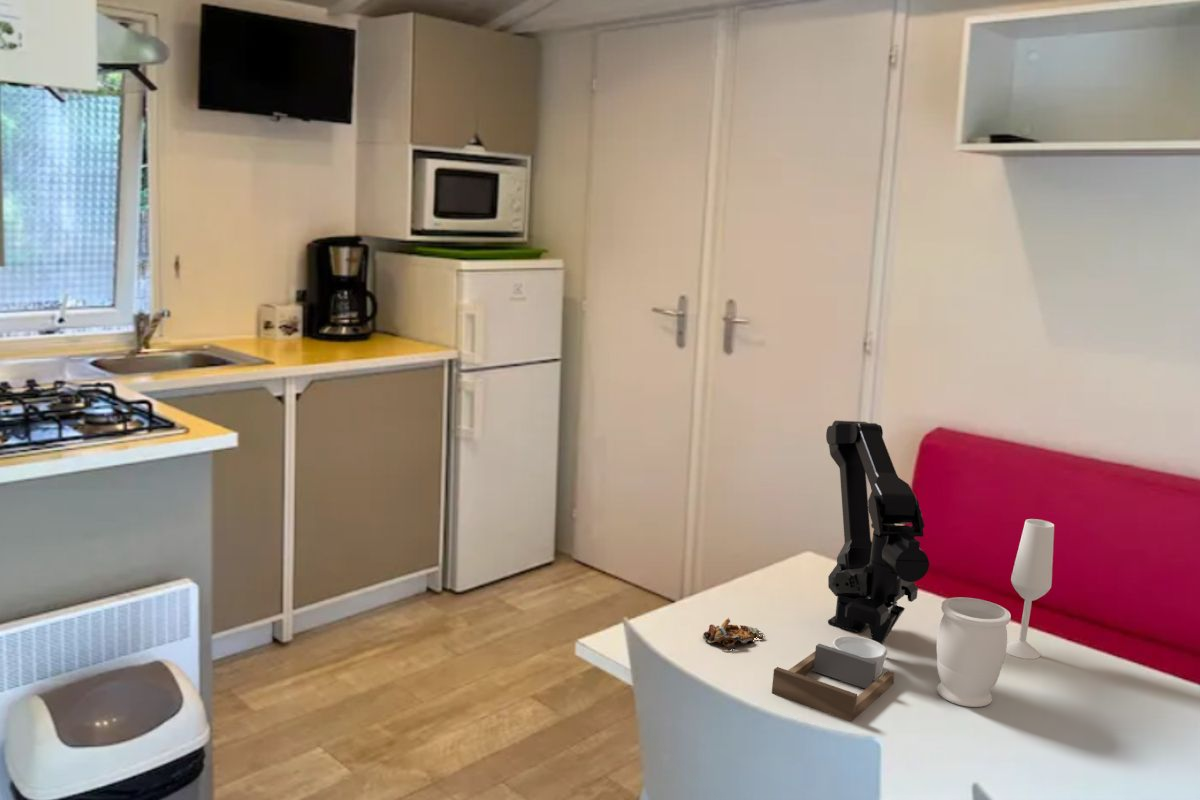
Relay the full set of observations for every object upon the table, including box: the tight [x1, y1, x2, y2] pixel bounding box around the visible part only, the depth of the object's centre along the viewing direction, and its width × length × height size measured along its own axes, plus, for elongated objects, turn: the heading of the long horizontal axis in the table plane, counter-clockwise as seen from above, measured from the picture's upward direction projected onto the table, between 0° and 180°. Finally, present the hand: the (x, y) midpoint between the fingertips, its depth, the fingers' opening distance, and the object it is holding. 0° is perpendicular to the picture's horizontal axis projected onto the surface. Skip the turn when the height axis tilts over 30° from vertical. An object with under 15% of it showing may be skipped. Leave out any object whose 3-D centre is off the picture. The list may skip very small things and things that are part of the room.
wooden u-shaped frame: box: [771, 651, 896, 722], centre depth 168 cm, size 17×13×4 cm
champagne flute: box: [1006, 518, 1055, 660], centre depth 186 cm, size 7×7×24 cm
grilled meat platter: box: [702, 617, 765, 654], centre depth 185 cm, size 7×12×4 cm, turn 131°
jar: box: [936, 596, 1012, 708], centre depth 167 cm, size 11×10×15 cm
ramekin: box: [832, 635, 888, 679], centre depth 175 cm, size 9×9×4 cm
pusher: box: [812, 643, 876, 690], centre depth 171 cm, size 2×10×4 cm, turn 54°
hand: (877, 646), depth 182 cm, fingers closed
